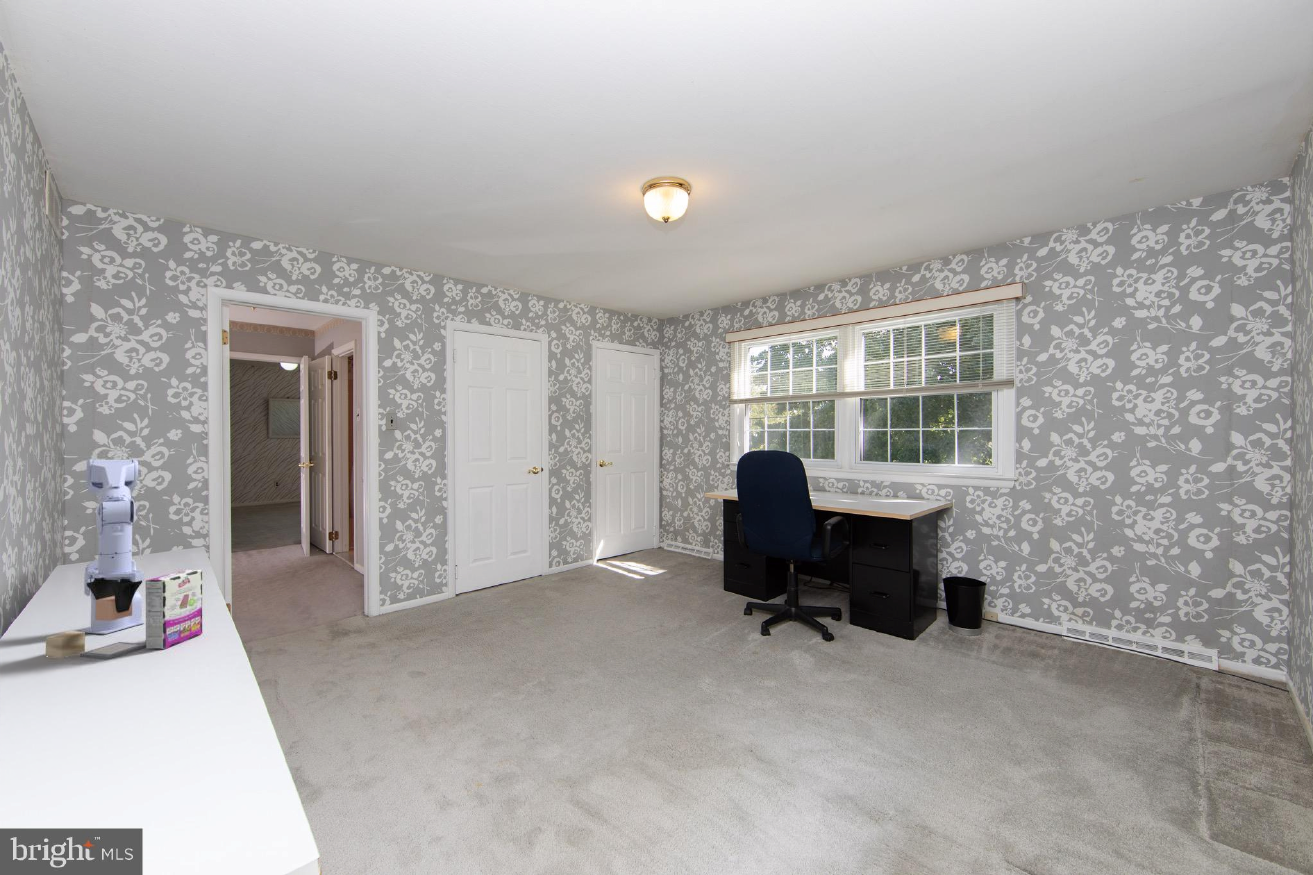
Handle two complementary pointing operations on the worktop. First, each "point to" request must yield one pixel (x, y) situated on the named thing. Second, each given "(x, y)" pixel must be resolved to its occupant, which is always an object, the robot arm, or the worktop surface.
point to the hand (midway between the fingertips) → (114, 610)
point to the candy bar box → (173, 608)
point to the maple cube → (65, 644)
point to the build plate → (113, 650)
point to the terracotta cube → (109, 610)
